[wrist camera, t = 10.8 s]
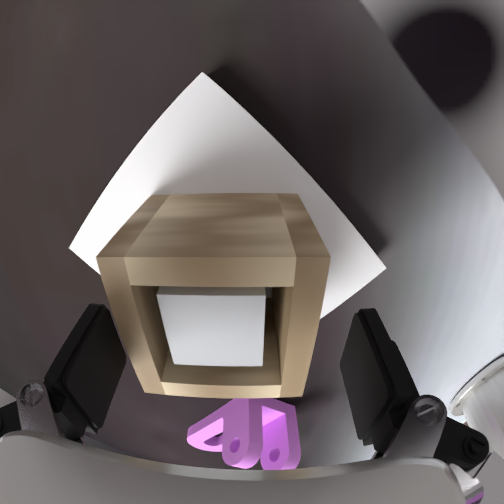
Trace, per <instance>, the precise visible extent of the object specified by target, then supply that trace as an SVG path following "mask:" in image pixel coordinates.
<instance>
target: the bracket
mask: <svg viewBox="0 0 504 504" xmlns="http://www.w3.org/2000/svg"><path fill="white" fill-rule="evenodd" d="M221 432H223V435H221V436H218V437H213V436H215V435H217V434H219V433H221ZM187 442H188V443H189V444H190V445H192V446H194V447H196V448H198V449H202V450H206V451H217V452H219V451H222V457H223V460H224V462H225V463H226V464H227V465H230V466H235V467H239V468H244V469H247V468H250V467H252V466H253V465H255V463H256V462H257V461H258V460H259V458H260V456H261V465H262V467H263V469H264V470H285V469H295V468H296V467H297V465H298V463H299V461H300V457H301V449H300V441H299V433H298V425H297V418H296V410H295V406H293V405H290V404H287V403H284V402H282V401H279V400H276V399H273V398H234V399H233V400H231V401H230V402H228V403H227V404H225V405H224V406H222V407H221V408H219V409H218V410H216V411H215V412H213V413H212V414H210V415H209V416H207V417H205V418H204V419H202V420H201V421H199V422H197V423H196V424H194V425H192V426H191V427H190V428H189V429H188V435H187Z"/></svg>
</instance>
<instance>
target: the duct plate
mask: <svg viewBox="0 0 504 504" xmlns="http://www.w3.org/2000/svg"><path fill="white" fill-rule="evenodd" d="M205 193H293V194H298V195H299V197H300V199H301V201H302V203H303V204H304V206H305V208H306V210H307V212H308V214H309V216H310V217H311V219H312V221H313V223H314V225H315V227H316V229H317V231H318V233H319V235H320V237H321V238H322V240H323V242H324V244H325V246H326V248H327V250H328V252H329V254H330V256H331V259H330V265H329V272H328V277H327V283H326V289H325V295H324V300H323V305H322V311H321V316H320V319H321V318H322V317H324V316H325V315H326V314H328V313H329V312H331V311H332V310H333V309H335V308H336V307H337V306H339V305H340V304H341V303H343V302H344V301H345V300H347V299H348V298H349V297H351V296H352V295H353V294H355V293H356V292H357V291H359V290H360V289H361V288H362V287H364V286H365V285H366V284H367V283H369V282H370V281H371V280H373V279H374V278H375V277H376V276H378V275H379V274H380V273H381V272H382V271H384V270H385V269H386V267H385V266H384V264H383V263H382V262H381V260H380V259H379V258H378V256H377V255H376V254H375V252H374V251H373V250H372V249H371V247H370V246H369V245H368V243H367V242H366V241H365V240H364V238H363V237H362V236H361V235H360V233H359V232H358V231H357V230H356V228H355V227H354V226H353V225H352V223H351V222H350V221H349V220H348V219H347V217H346V216H345V215H344V214H343V213H342V211H341V210H340V209H339V208H338V207H337V206H336V204H335V203H334V202H333V201H332V200H331V199H330V197H329V196H328V195H327V194H326V193H325V192H324V191H323V189H322V188H321V187H320V186H319V185H318V184H317V183H316V182H315V181H314V179H313V178H312V177H311V176H310V175H309V174H308V173H307V172H306V171H305V170H304V168H303V167H302V166H301V165H300V164H299V163H298V162H297V161H296V160H295V159H294V158H293V157H292V156H291V155H290V154H289V153H288V152H287V150H286V149H285V148H284V147H283V146H282V145H281V144H280V143H279V142H278V141H277V140H276V139H275V138H274V137H273V136H272V135H271V134H270V133H269V132H268V131H267V130H266V129H265V128H264V127H263V126H262V125H261V124H260V123H259V122H258V121H257V120H255V119H254V118H253V117H252V116H251V115H250V114H249V113H248V112H247V111H246V110H245V109H244V108H243V107H242V106H241V105H240V104H239V103H237V102H236V101H235V100H234V99H233V98H232V97H231V96H230V95H229V94H228V93H226V92H225V91H224V90H223V89H222V88H221V87H220V86H219V85H217V84H216V83H215V82H214V81H213V80H212V79H211V78H209V77H208V76H207V75H206V74H204V73H203V72H202V73H201V74H200V75H199V76H198V77H197V78H196V79H195V80H194V81H193V82H192V83H191V84H190V85H189V86H188V87H187V88H186V89H185V90H184V91H183V92H182V93H181V94H180V95H179V96H178V98H177V99H176V100H175V101H174V102H173V103H172V104H171V105H170V106H169V107H168V109H167V110H166V111H165V112H164V113H163V114H162V115H161V117H160V118H159V119H158V120H157V121H156V122H155V124H154V125H153V126H152V127H151V128H150V130H149V131H148V132H147V133H146V134H145V136H144V137H143V138H142V139H141V141H140V142H139V143H138V144H137V146H136V147H135V148H134V150H133V151H132V152H131V154H130V155H129V156H128V158H127V159H126V160H125V162H124V163H123V164H122V166H121V167H120V168H119V170H118V171H117V173H116V174H115V175H114V177H113V178H112V180H111V181H110V183H109V184H108V186H107V187H106V188H105V190H104V191H103V193H102V194H101V196H100V197H99V199H98V201H97V202H96V204H95V205H94V207H93V208H92V210H91V212H90V213H89V215H88V216H87V218H86V220H85V221H84V223H83V225H82V226H81V228H80V230H79V232H78V233H77V235H76V237H75V239H74V240H73V242H72V244H71V246H70V249H71V250H72V251H73V252H74V253H75V254H77V255H78V256H79V257H80V258H81V259H82V260H84V261H85V262H86V263H87V264H88V265H89V266H91V267H92V268H93V269H94V270H95V271H97V272H98V273H99V274H100V271H99V267H98V264H97V260H96V256H97V255H98V254H99V252H100V251H101V250H102V249H103V248H104V247H105V245H106V244H107V243H108V242H109V241H110V239H111V238H112V237H113V236H114V235H115V234H116V233H117V231H118V230H119V229H120V228H121V227H122V226H123V225H124V224H125V222H126V221H127V220H128V219H129V218H130V217H131V216H132V215H133V214H134V213H135V211H136V210H137V209H138V208H139V207H140V206H141V205H142V204H143V203H144V202H145V201H146V200H147V199H148V198H149V197H150V196H151V195H173V194H205ZM100 275H101V274H100ZM156 295H157V299H158V304H159V308H160V312H161V316H162V321H163V325H164V329H165V333H166V336H167V340H168V344H169V348H170V351H171V355H172V359H173V362H174V364H182V365H202V366H263V345H264V323H265V299H266V298H271V297H272V287H178V286H160V287H159V290H158V292H157V294H156Z"/></svg>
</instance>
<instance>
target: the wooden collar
mask: <svg viewBox="0 0 504 504" xmlns="http://www.w3.org/2000/svg"><path fill="white" fill-rule="evenodd" d="M330 259H331V256H330V254H329V252H328V250H327V248H326V246H325V244H324V242H323V240H322V238H321V237H320V235H319V233H318V231H317V229H316V227H315V225H314V223H313V221H312V219H311V217H310V216H309V214H308V212H307V210H306V208H305V206H304V204H303V203H302V201H301V199H300V197H299V195H298V194H293V193H205V194H173V195H151V196H150V197H149V198H148V199H147V200H146V201H145V202H144V203H143V204H142V205H141V206H140V207H139V208H138V209H137V210H136V211H135V213H134V214H133V215H132V216H131V217H130V218H129V219H128V220H127V221H126V222H125V224H124V225H123V226H122V227H121V228H120V229H119V230H118V231H117V233H116V234H115V235H114V236H113V237H112V238H111V239H110V241H109V242H108V243H107V244H106V245H105V247H104V248H103V249H102V250H101V251H100V252H99V254H98V255H97V256H96V260H97V264H98V267H99V271H100V274H101V278H102V281H103V285H104V288H105V291H106V294H107V297H108V301H109V304H110V307H111V310H112V313H113V315H114V318H115V321H116V324H117V327H118V329H119V332H120V335H121V337H122V340H123V343H124V345H125V348H126V350H127V353H128V355H129V357H130V360H131V362H132V365H133V367H134V369H135V372H136V374H137V376H138V378H139V381H140V383H141V385H142V387H143V389H144V391H145V392H147V393H155V394H165V395H176V396H189V397H206V398H282V397H299V396H302V395H303V391H304V387H305V383H306V379H307V375H308V371H309V367H310V362H311V358H312V354H313V349H314V345H315V340H316V335H317V330H318V326H319V321H320V316H321V311H322V305H323V300H324V295H325V289H326V283H327V277H328V272H329V265H330ZM160 286H178V287H272V297H271V298H266V299H265V323H264V345H263V366H202V365H182V364H174V362H173V359H172V355H171V351H170V348H169V344H168V340H167V336H166V333H165V329H164V325H163V321H162V316H161V312H160V308H159V304H158V299H157V295H156V294H157V292H158V290H159V287H160Z"/></svg>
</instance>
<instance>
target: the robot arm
mask: <svg viewBox="0 0 504 504" xmlns="http://www.w3.org/2000/svg"><path fill="white" fill-rule="evenodd" d="M125 364H126V354H125V352H124V349H123V347H122V344H121V342H120V339H119V336H118V334H117V331H116V328H115V325H114V323H113V320H112V317H111V314H110V311H109V310H108V309H107V308H106V307H105V306H104V305H102V304H92V303H91V304H89V305H88V307H87V308H86V310H85V311H84V313H83V314H82V316H81V317H80V319H79V321H78V322H77V324H76V325H75V327H74V328H73V330H72V331H71V333H70V335H69V336H68V338H67V339H66V341H65V343H64V344H63V346H62V348H61V349H60V351H59V353H58V354H57V356H56V358H55V359H54V361H53V363H52V365H51V366H50V368H49V370H48V372H47V374H46V375H45V377H44V379H45V381H44V383H42V382H41V381H39V380H30V381H27V382H26V383H24V384H23V385H22V386H21V387H20V389H19V390H18V393H17V401H15V402H13V403H10V404H8V405H6V406H4V407H1V408H0V504H504V356H503V357H501V358H499V359H497V360H496V361H494V362H493V363H491V364H490V365H489V366H487V367H486V368H485V369H483V370H482V371H481V372H480V373H478V374H477V375H476V376H475V377H474V378H473V379H472V380H470V381H469V382H468V383H467V384H466V385H465V386H464V387H463V388H462V389H461V390H460V392H459V393H458V394H457V395H456V396H455V398H454V399H453V401H452V403H451V405H450V411H451V413H452V415H454V416H460V415H464V416H465V418H466V420H467V423H468V425H469V427H468V426H466V425H464V424H462V423H459V422H457V421H455V420H453V419H451V418H449V417H447V409H446V407H445V405H444V403H443V402H442V401H441V400H440V399H439V398H437V397H435V396H433V395H421V396H420V395H419V393H418V391H417V388H416V386H415V384H414V381H413V379H412V377H411V375H410V372H409V370H408V368H407V366H406V364H405V362H404V359H403V357H402V355H401V353H400V351H399V349H398V347H397V345H396V343H395V342H394V341H393V340H391V339H390V337H389V335H388V333H387V331H386V329H385V327H384V325H383V323H382V321H381V319H380V317H379V315H378V313H377V311H376V309H374V308H370V309H360V310H359V312H358V313H355V314H354V317H353V320H352V324H351V328H350V331H349V334H348V338H347V341H346V345H345V348H344V351H343V354H342V357H341V361H340V369H341V373H342V376H343V380H344V384H345V388H346V392H347V395H348V399H349V403H350V407H351V411H352V416H353V420H354V424H355V428H356V432H357V436H358V439H359V440H361V439H362V440H363V445H364V446H365V445H370V444H373V445H374V449H375V450H376V452H375V453H374V455H373V457H372V459H371V460H365V461H359V462H353V463H347V464H339V465H331V466H322V467H313V468H301V469H285V470H227V469H211V468H200V467H190V466H182V465H174V464H168V463H161V462H155V461H150V460H144V459H139V458H135V457H130V456H125V455H121V454H117V453H113V452H109V451H106V450H102V449H98V448H94V447H91V446H88V445H87V443H86V441H85V439H84V436H83V435H84V432H85V431H87V432H90V433H94V434H97V431H98V428H101V427H102V426H103V423H104V420H105V417H106V414H107V412H108V409H109V406H110V403H111V401H112V398H113V395H114V392H115V390H116V387H117V385H118V382H119V379H120V377H121V374H122V372H123V369H124V367H125Z"/></svg>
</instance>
